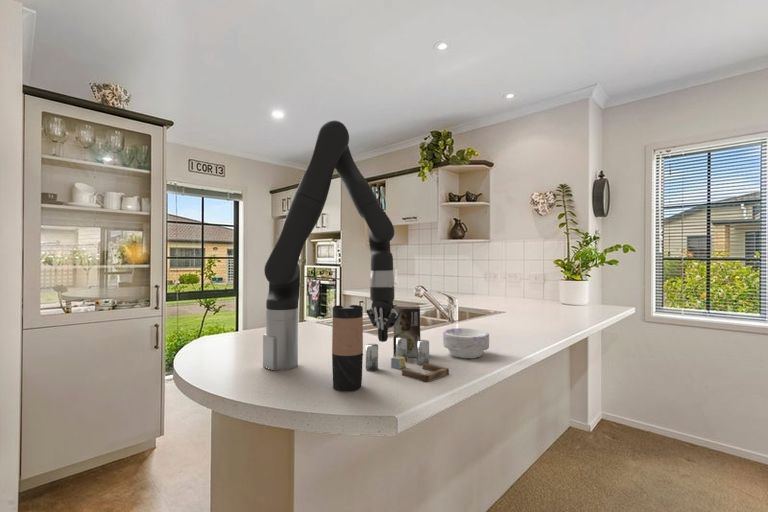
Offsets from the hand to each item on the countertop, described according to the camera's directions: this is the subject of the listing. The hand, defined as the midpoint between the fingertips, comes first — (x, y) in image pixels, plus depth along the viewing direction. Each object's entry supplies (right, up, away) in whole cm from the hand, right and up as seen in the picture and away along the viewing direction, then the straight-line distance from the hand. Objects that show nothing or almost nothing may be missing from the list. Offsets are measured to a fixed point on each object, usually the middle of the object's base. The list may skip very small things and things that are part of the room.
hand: (383, 341), depth 116 cm
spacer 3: (+12, -7, -1) cm, 14 cm away
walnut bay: (+12, -7, -12) cm, 18 cm away
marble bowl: (+28, -7, +10) cm, 30 cm away
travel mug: (-9, -7, -23) cm, 25 cm away
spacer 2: (+6, -7, +4) cm, 10 cm away
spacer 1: (-3, -7, -7) cm, 10 cm away
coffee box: (+8, -7, +10) cm, 15 cm away
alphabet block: (+5, -7, -5) cm, 10 cm away
